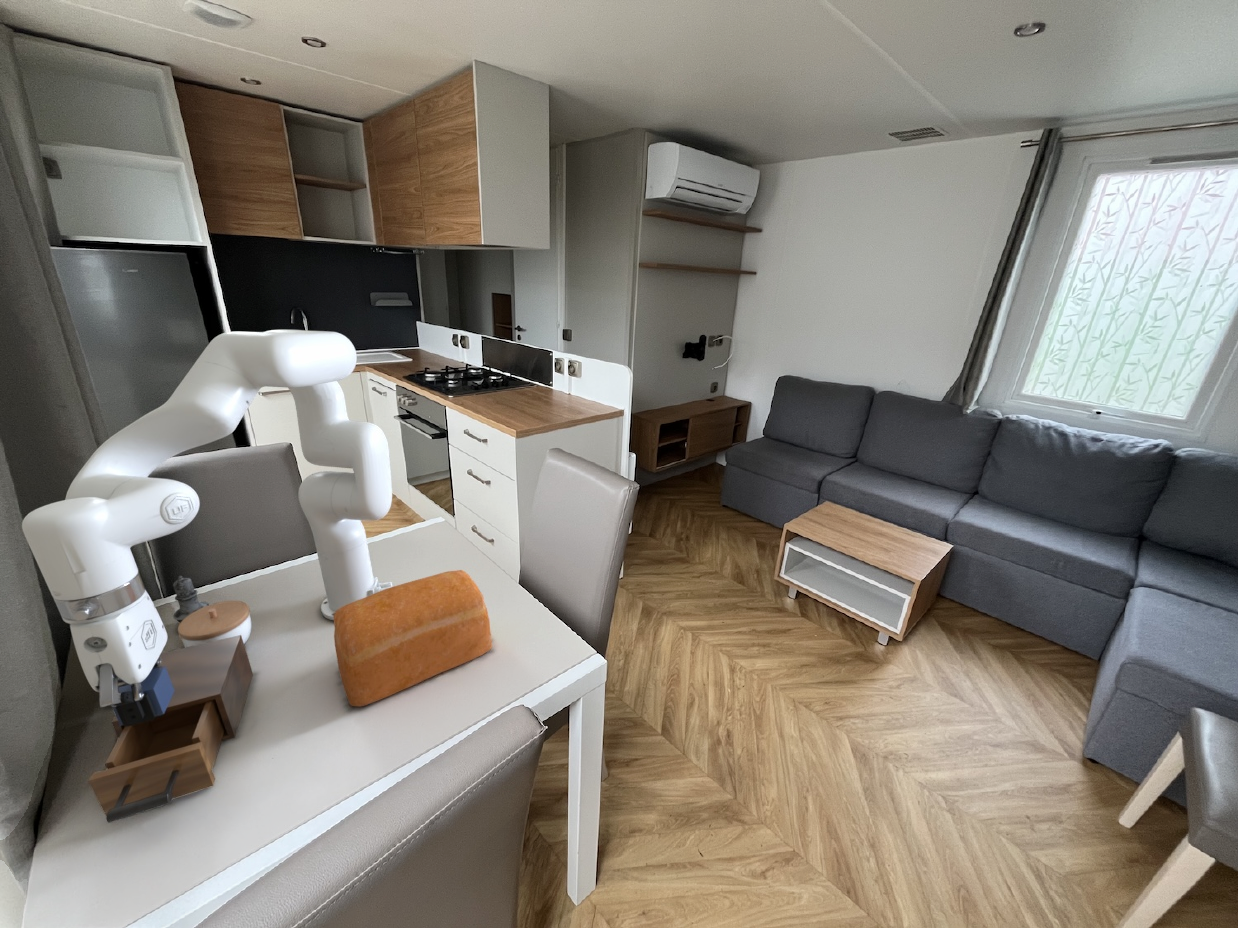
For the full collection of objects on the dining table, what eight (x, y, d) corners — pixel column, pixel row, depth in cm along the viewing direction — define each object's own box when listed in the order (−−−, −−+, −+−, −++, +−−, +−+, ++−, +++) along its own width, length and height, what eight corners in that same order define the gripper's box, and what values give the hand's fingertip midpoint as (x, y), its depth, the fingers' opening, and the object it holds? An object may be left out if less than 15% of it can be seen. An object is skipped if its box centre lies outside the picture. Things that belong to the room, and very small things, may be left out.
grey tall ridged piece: (221, 616, 106) (206, 568, 101) (196, 635, 100) (179, 585, 96) (196, 614, 106) (180, 566, 102) (170, 632, 101) (152, 582, 96)
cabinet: (235, 737, 78) (220, 693, 75) (131, 768, 73) (111, 722, 70) (253, 674, 91) (241, 634, 87) (166, 697, 86) (149, 655, 82)
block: (174, 690, 71) (165, 665, 69) (163, 714, 67) (153, 688, 65) (133, 701, 69) (123, 675, 67) (120, 725, 65) (108, 699, 63)
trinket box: (270, 638, 100) (259, 599, 96) (215, 676, 90) (200, 634, 87) (233, 626, 103) (221, 588, 100) (175, 661, 93) (160, 620, 90)
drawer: (204, 816, 66) (188, 778, 63) (90, 855, 61) (68, 815, 59) (235, 714, 81) (223, 679, 79) (146, 739, 77) (130, 703, 74)
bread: (498, 652, 97) (492, 584, 92) (351, 716, 83) (334, 640, 77) (472, 615, 108) (465, 553, 102) (337, 667, 93) (321, 596, 87)
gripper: (112, 628, 56) (161, 746, 62) (164, 556, 70) (200, 658, 76) (19, 647, 53) (81, 769, 59) (94, 567, 67) (137, 673, 73)
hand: (147, 705), depth 68 cm, fingers closed on block, 4 cm apart
